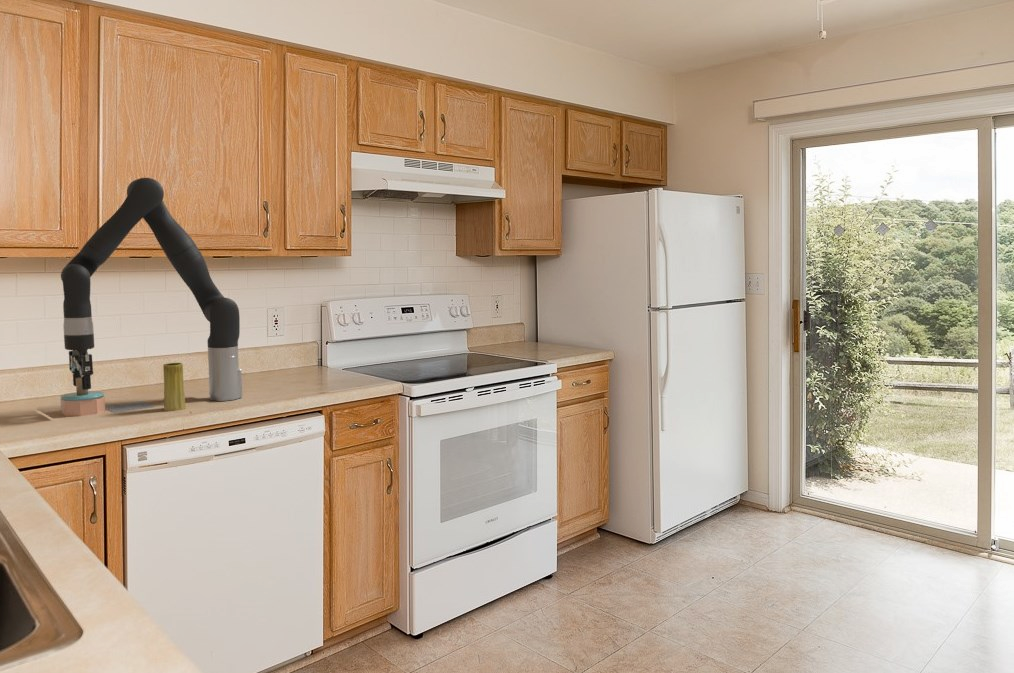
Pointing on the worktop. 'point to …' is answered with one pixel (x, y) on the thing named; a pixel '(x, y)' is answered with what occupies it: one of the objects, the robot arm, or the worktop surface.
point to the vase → (173, 387)
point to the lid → (81, 393)
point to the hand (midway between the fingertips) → (82, 387)
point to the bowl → (83, 407)
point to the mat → (128, 406)
